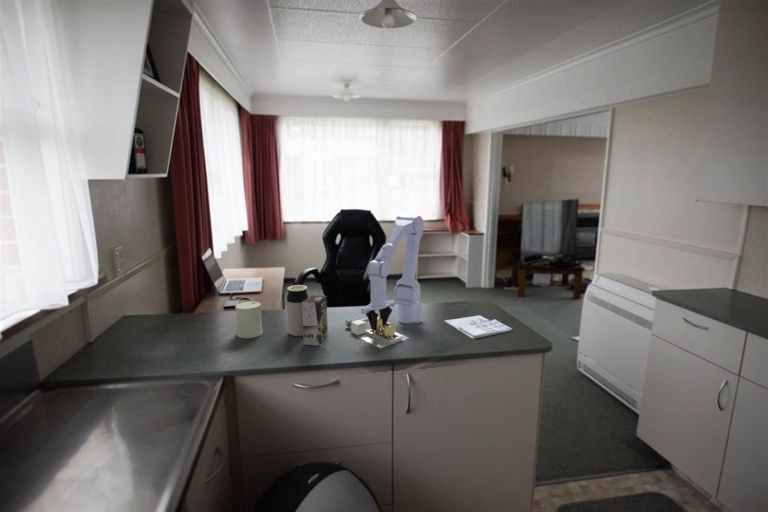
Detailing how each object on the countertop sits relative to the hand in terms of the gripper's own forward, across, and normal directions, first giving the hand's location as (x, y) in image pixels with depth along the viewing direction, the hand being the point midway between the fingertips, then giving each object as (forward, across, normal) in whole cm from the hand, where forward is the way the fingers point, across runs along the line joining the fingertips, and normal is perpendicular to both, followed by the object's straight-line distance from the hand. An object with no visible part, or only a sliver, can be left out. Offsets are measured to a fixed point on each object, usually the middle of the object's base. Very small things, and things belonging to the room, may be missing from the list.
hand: (378, 328), depth 153 cm
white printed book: (+5, -38, +16) cm, 41 cm away
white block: (+4, +4, -7) cm, 9 cm away
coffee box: (+4, +19, -13) cm, 23 cm away
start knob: (+2, +4, -10) cm, 11 cm away
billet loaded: (+3, 0, +6) cm, 7 cm away
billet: (+2, 0, 0) cm, 2 cm away
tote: (+4, -5, -11) cm, 13 cm away
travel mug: (+4, +20, -24) cm, 32 cm away
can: (+4, +35, -35) cm, 50 cm away
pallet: (+4, 0, +3) cm, 5 cm away
